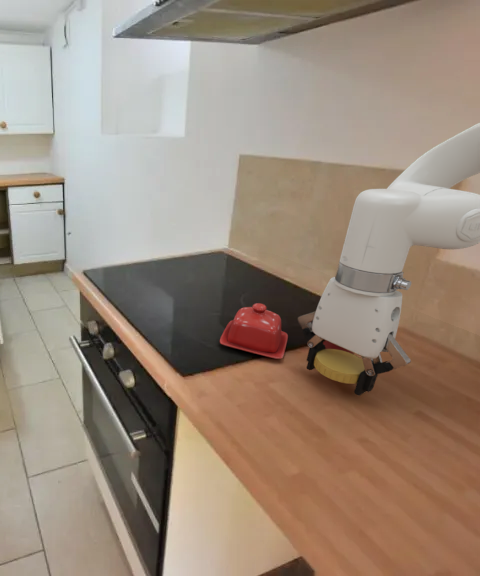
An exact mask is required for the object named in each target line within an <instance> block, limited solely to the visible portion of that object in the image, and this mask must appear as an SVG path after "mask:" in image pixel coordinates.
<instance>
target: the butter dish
mask: <svg viewBox="0 0 480 576" xmlns="http://www.w3.org/2000/svg"><path fill="white" fill-rule="evenodd" d="M288 338H289V335H288V333H287V332H285V331H282V319H281V315H279V314H277V312H276V313H275V312H273V311H271V310H268V309H267V306H266V305H265V304H264V303H260V302H258V303H257V302H256V303H254V304H252V306H245V307H241V308H239V309H238V311H236V313H235V315H234V317H233V320H230V321H229V322H228V323H227V325H226V327H225V328H224V330H223V332H222V334H221V336H220V339H219V344H221V345H222V346H225V347H229V348H232V349H236V350H240V351H243V352H247V353H251V354H256V355H258V356H263V357H267V358H272V359H275V360H281V359H283V358H284V355H285V353H286V347H287V343H288Z"/></svg>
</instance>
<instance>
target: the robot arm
mask: <svg viewBox="0 0 480 576" xmlns="http://www.w3.org/2000/svg"><path fill="white" fill-rule="evenodd" d="M479 174H480V122H478V123H476V124H474V125H472V126H470V127H468V128H466V129H464V130H463V131H461V132H459V133H457V134H456V135H455V134H454V136H452V137H450V138H448V139H446V140H444V141H442V142H440V143H439V144H437V145H435V146H434V147H432V148H430V149H429V150H428V151H426V152H424V153H423V154H422V155H421V156H419V157H418V158H416V159H415V160H414V161H413V162H412V163H411V164H410V165H409V166H408V167H406V168H405V170H403V171H402V172H401V173H400V174H399V175H398V176H397V177H396V178H395V179H394V180H393V181H392V182H391V183H390V184H389V185H388V186H387V188H369V189H365V190H363V191H361V192H359V194H358V195H357V196H356V198H355V201H354V204H353V207H352V211H351V215H350V219H349V223H348V226H347V231H346V234H345V237H344V242H343V246H342V250H341V253H340V258H339V261H338V264H337V268H336V272H335V276H333V277H331V278H330V279H329V280H328V283H327V285H326V286H325V288H324V290H323V292H322V294H321V296H320V299H319V301H318V304H317V307H316V309H315V311H312V312H309V313H306V314H303V315H300V316H298V317H297V322H298V324H299V326H300V327H301V329H302V333H303V336H304V337H305V340H306V341H307V343H306V345H307V347H308V353H307V357H306V362H307V365H306V370H308V371H312V370H316V368H315V366H314V360H315V356H316V354H317V352H319V351H321V350H323V349H326V347H325V345H324V344H323V343H324V342H325V341H326V340H327V341H329V342H331V343H333V344H336V345H338V346H340V347H342V348H345V349H347V350H349V351H351V352H354V353H355V355H359V356H360V357H361V359H362V360H363V364H364V368H365V370H364V371H362V372H361V373H360V375H359V378H358V381H357V383H355V388H354V391H353V393H354V395H356V396H357V397H360V396H362V395H363V394H365V393H366V392H367V393H370V392H371V391H372V390H373V389H374V387H375V384H376V381H377V378H378V375H379V374H384V373H388V372H391V371H394V370H397V369H400V368H403V367H406V366H408V365H409V364H410V363H411V362H412V360H411V358H410V357H409V355H408V354H407V353H406V351H405V350H404V349H403V347H402V346H401V345H400V344H399V342H398V341H397V339H396V337H397V333H398V330H399V329H398V328H399V325H400V321H401V320H400V319H401V313H402V305H403V292H401V291H400V290H404V291H408V290H410V288H411V286H412V281H411V280H408V279H406V278H405V277H404V273H405V272H404V271H403V270H404V267H405V264H406V261H407V258H408V255H409V252H410V249H411V247H413V246H418V247H426V248H427V247H428V248H432V249H433V248H434V249H440V250H441V249H442V250H461V249H466V248H470V247H473V246H476V245H478V244H480V194H479V193H477V192H476V193H475V192H471V191H466V190H460V189H454V188H453V187H454V186H455V185H457V184H459V183H461V182H463V181H464V180H467V179H469V178H471V177H473V176H476V175H479ZM382 352H383V353H389V355H390V356H391V358H392V359H390V360H385V361H383V359H382V356H381V353H382Z"/></svg>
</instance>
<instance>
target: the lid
mask: <svg viewBox="0 0 480 576" xmlns="http://www.w3.org/2000/svg"><path fill="white" fill-rule="evenodd" d="M314 366H315V370H316V371H317V372H318V373H319V374H320V375H322V376H323V377H325V378H328V379H330V380H332V381H335V382H339V383H342V384H349V385H350V384H351V385H352V384H355V385H356V384H357V381H358V378H359V375H360V373H361V372H362V371H364V370H365V368H364V364H363V360H362V357H360V356H357V354H351V353H349V352H346V351H342V350H337V349H323V350H321V351H319V352H317V354H316V356H315V360H314Z"/></svg>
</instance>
